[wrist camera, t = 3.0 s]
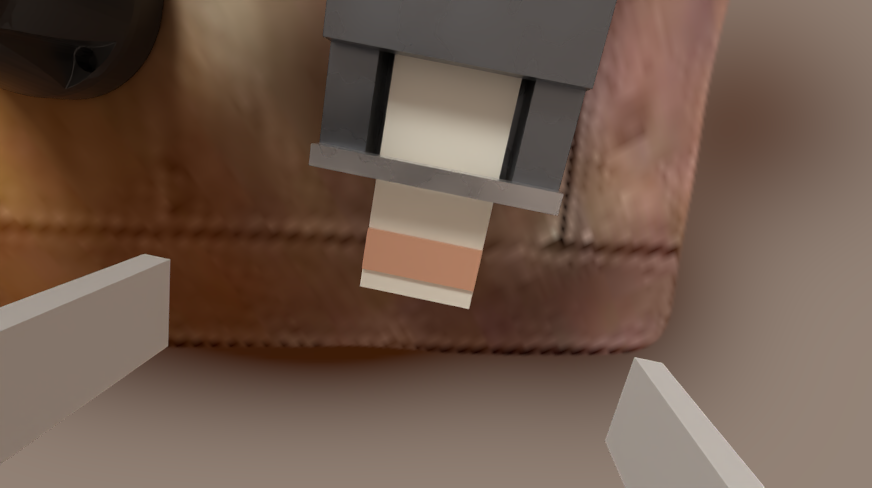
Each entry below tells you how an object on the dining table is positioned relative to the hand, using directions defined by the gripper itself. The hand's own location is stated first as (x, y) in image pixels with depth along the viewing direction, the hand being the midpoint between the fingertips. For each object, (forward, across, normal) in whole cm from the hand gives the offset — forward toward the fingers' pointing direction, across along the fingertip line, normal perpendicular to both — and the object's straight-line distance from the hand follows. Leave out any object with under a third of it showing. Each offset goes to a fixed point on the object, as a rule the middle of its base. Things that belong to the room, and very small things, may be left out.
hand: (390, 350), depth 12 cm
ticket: (+11, 0, +5) cm, 12 cm away
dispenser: (+18, 0, +9) cm, 20 cm away
